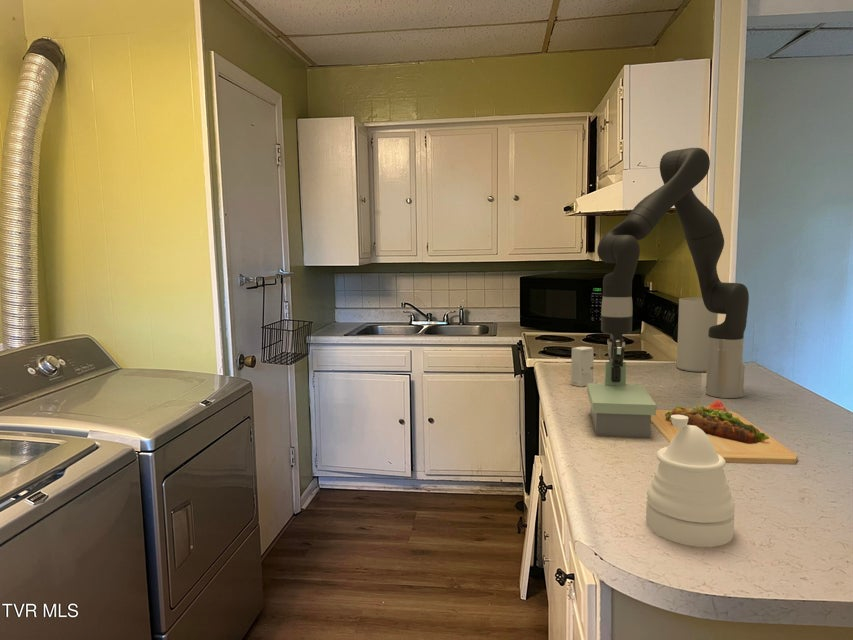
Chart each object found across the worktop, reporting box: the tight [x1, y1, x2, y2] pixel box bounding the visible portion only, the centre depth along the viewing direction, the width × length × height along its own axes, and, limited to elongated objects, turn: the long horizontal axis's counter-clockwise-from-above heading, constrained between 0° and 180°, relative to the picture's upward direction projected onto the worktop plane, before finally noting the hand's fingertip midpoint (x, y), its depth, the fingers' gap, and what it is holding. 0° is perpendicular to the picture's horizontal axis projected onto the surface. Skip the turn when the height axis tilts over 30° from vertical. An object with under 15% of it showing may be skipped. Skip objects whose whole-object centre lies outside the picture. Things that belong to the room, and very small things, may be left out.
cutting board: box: [651, 399, 798, 465], centre depth 138 cm, size 35×23×8 cm
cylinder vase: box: [676, 297, 719, 373], centre depth 208 cm, size 12×12×25 cm
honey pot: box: [645, 415, 736, 548], centre depth 93 cm, size 13×13×18 cm
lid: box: [586, 361, 657, 415], centre depth 144 cm, size 14×20×8 cm
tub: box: [589, 407, 652, 439], centre depth 144 cm, size 12×18×8 cm, turn 169°
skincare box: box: [570, 346, 595, 388], centre depth 189 cm, size 6×4×12 cm
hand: (615, 380), depth 152 cm, fingers open, 2 cm apart
